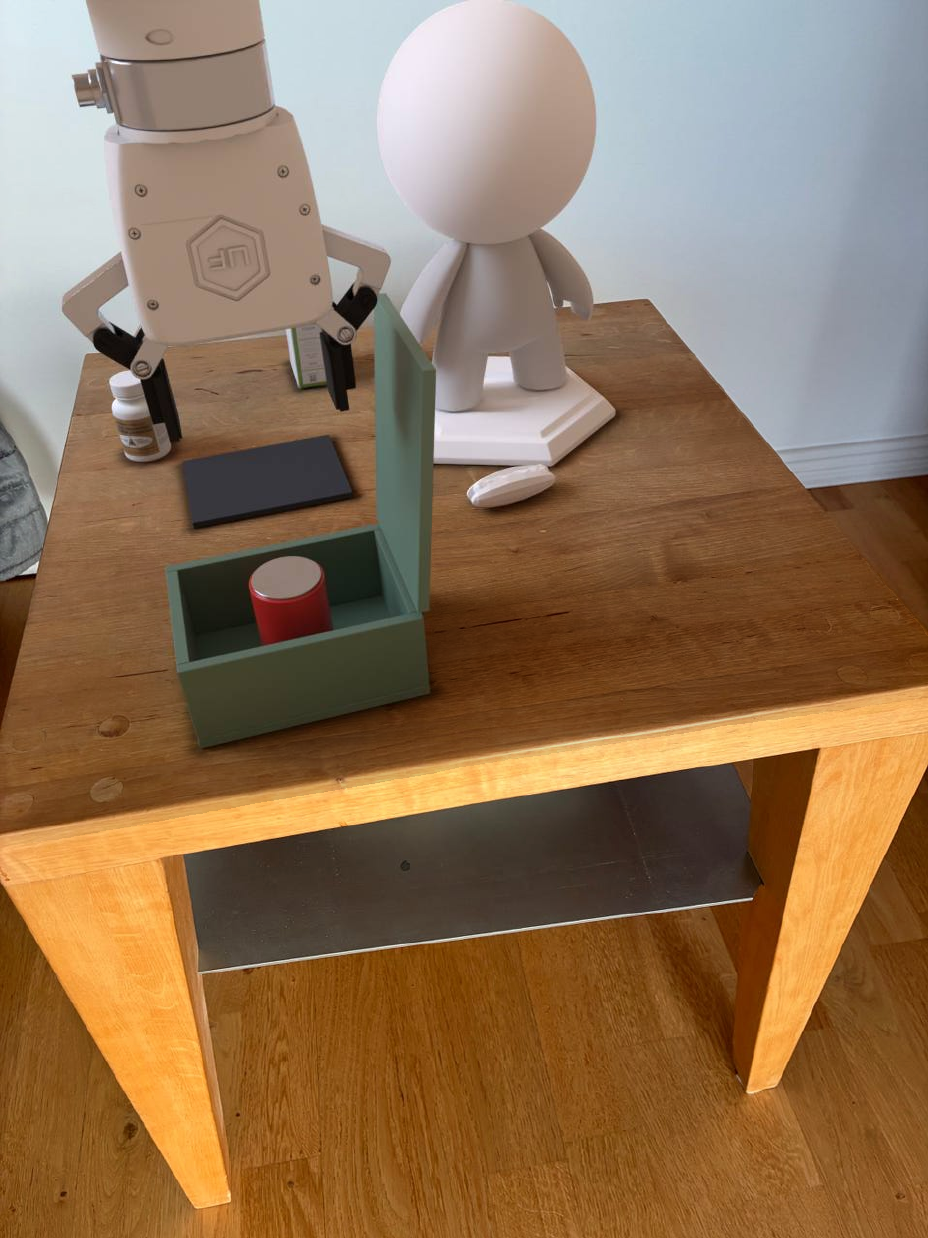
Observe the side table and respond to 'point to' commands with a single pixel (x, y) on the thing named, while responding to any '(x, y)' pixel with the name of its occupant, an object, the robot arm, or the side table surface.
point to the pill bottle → (136, 420)
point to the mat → (264, 481)
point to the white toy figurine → (494, 225)
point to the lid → (404, 447)
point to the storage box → (299, 668)
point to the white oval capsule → (510, 485)
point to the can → (290, 599)
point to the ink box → (306, 355)
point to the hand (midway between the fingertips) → (258, 415)
